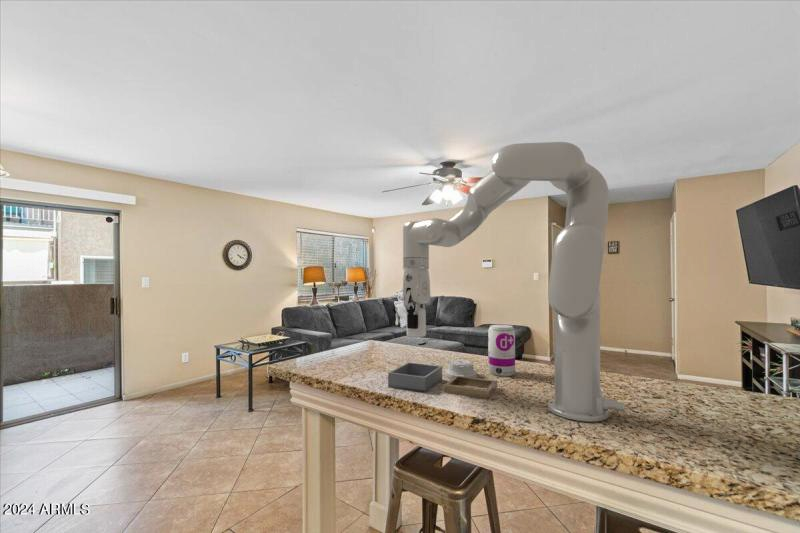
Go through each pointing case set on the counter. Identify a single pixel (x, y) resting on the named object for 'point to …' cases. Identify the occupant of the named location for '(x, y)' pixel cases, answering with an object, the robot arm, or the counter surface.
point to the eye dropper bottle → (419, 324)
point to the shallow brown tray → (472, 392)
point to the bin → (415, 377)
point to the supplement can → (501, 350)
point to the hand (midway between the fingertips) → (416, 326)
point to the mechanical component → (460, 369)
